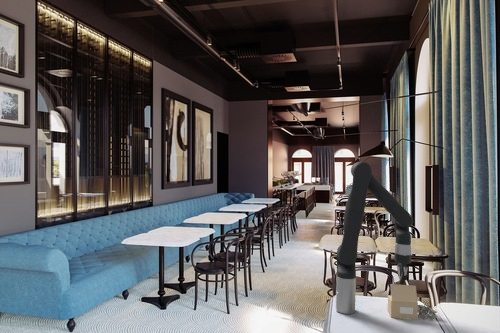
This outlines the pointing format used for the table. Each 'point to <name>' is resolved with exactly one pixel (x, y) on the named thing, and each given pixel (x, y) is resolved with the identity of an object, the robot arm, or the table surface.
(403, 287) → the flap
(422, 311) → the grey textured block
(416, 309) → the carton
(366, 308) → the table surface
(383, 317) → the table surface
